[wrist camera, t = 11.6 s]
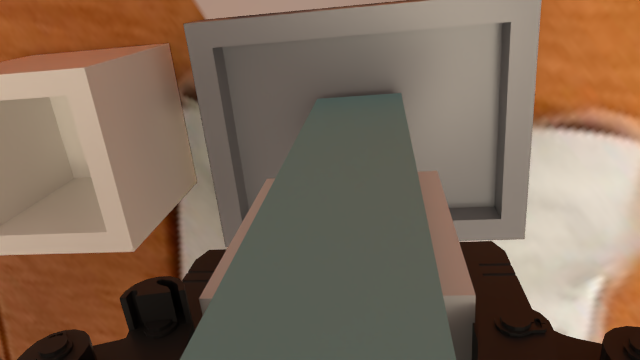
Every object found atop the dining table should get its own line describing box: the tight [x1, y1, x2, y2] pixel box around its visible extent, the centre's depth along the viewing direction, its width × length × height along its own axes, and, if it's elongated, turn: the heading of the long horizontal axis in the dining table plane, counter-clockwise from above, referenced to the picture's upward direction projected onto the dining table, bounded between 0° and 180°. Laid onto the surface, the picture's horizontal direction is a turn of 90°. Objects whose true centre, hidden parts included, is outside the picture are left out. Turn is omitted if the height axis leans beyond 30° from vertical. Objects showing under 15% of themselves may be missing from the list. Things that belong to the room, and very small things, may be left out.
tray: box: [183, 0, 541, 247], centre depth 25 cm, size 16×12×2 cm
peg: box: [180, 93, 456, 360], centre depth 15 cm, size 4×4×18 cm
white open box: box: [0, 43, 197, 255], centre depth 24 cm, size 8×8×8 cm
